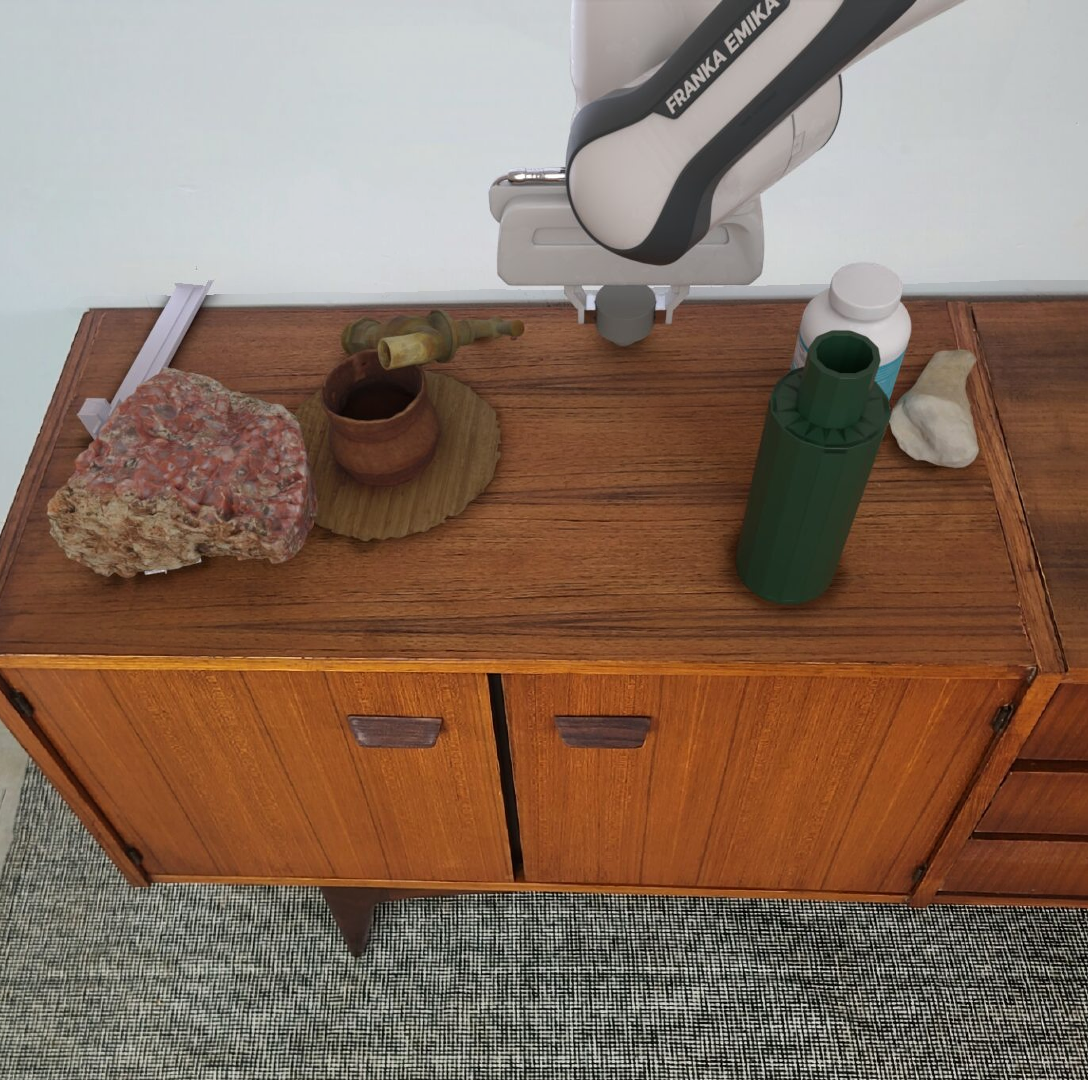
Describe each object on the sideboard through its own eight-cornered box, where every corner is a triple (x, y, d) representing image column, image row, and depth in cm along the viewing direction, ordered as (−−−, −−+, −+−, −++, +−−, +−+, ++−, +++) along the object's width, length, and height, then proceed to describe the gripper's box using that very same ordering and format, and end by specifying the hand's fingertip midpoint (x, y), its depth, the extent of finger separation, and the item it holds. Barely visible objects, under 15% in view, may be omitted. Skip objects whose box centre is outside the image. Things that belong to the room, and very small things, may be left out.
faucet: (294, 321, 86) (448, 300, 94) (302, 374, 88) (453, 348, 96) (388, 324, 75) (553, 300, 83) (395, 384, 76) (557, 355, 84)
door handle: (172, 250, 95) (202, 249, 94) (186, 277, 97) (215, 276, 97) (70, 425, 83) (103, 426, 83) (88, 451, 86) (121, 452, 85)
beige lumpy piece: (969, 479, 79) (990, 434, 75) (881, 468, 80) (897, 423, 76) (968, 372, 85) (987, 325, 81) (886, 363, 86) (901, 317, 82)
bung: (652, 317, 90) (655, 279, 87) (652, 357, 88) (656, 319, 84) (595, 317, 91) (596, 279, 87) (593, 357, 88) (594, 319, 85)
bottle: (828, 527, 77) (899, 312, 61) (838, 606, 74) (916, 398, 57) (733, 525, 78) (777, 311, 62) (738, 603, 74) (786, 397, 58)
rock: (152, 435, 87) (68, 581, 78) (117, 341, 78) (19, 493, 70) (355, 472, 84) (291, 627, 76) (340, 378, 76) (267, 540, 68)
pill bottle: (884, 400, 84) (932, 258, 73) (870, 469, 80) (919, 331, 69) (788, 381, 86) (821, 240, 75) (770, 448, 82) (802, 310, 71)
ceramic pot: (227, 471, 84) (202, 408, 78) (375, 339, 91) (361, 272, 85) (404, 579, 77) (391, 518, 71) (548, 427, 84) (546, 360, 78)
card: (146, 580, 78) (144, 577, 78) (139, 553, 80) (138, 551, 80) (265, 540, 80) (264, 538, 80) (256, 515, 81) (255, 512, 81)
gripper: (483, 196, 75) (495, 345, 87) (780, 194, 73) (753, 346, 85) (489, 143, 79) (500, 293, 90) (774, 139, 77) (748, 293, 88)
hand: (625, 319), depth 87 cm, fingers closed on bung, 5 cm apart
